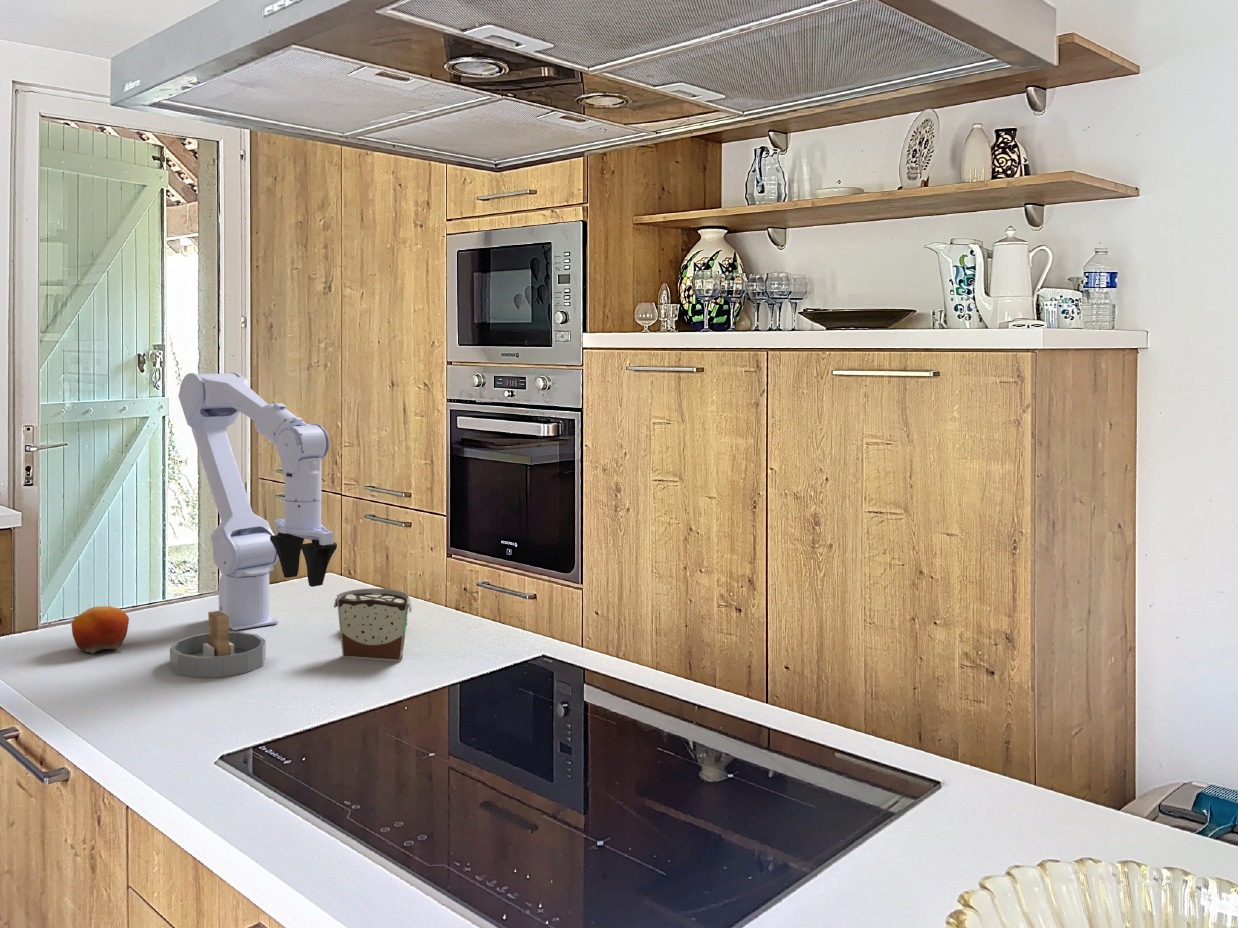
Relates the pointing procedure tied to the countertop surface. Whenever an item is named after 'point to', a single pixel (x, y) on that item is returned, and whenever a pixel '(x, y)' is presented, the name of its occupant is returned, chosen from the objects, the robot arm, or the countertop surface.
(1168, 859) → the countertop surface
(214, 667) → the grey faceted hollow container
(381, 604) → the food container
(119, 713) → the countertop surface
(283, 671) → the countertop surface
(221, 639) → the tan wooden beam
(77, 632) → the fruit
